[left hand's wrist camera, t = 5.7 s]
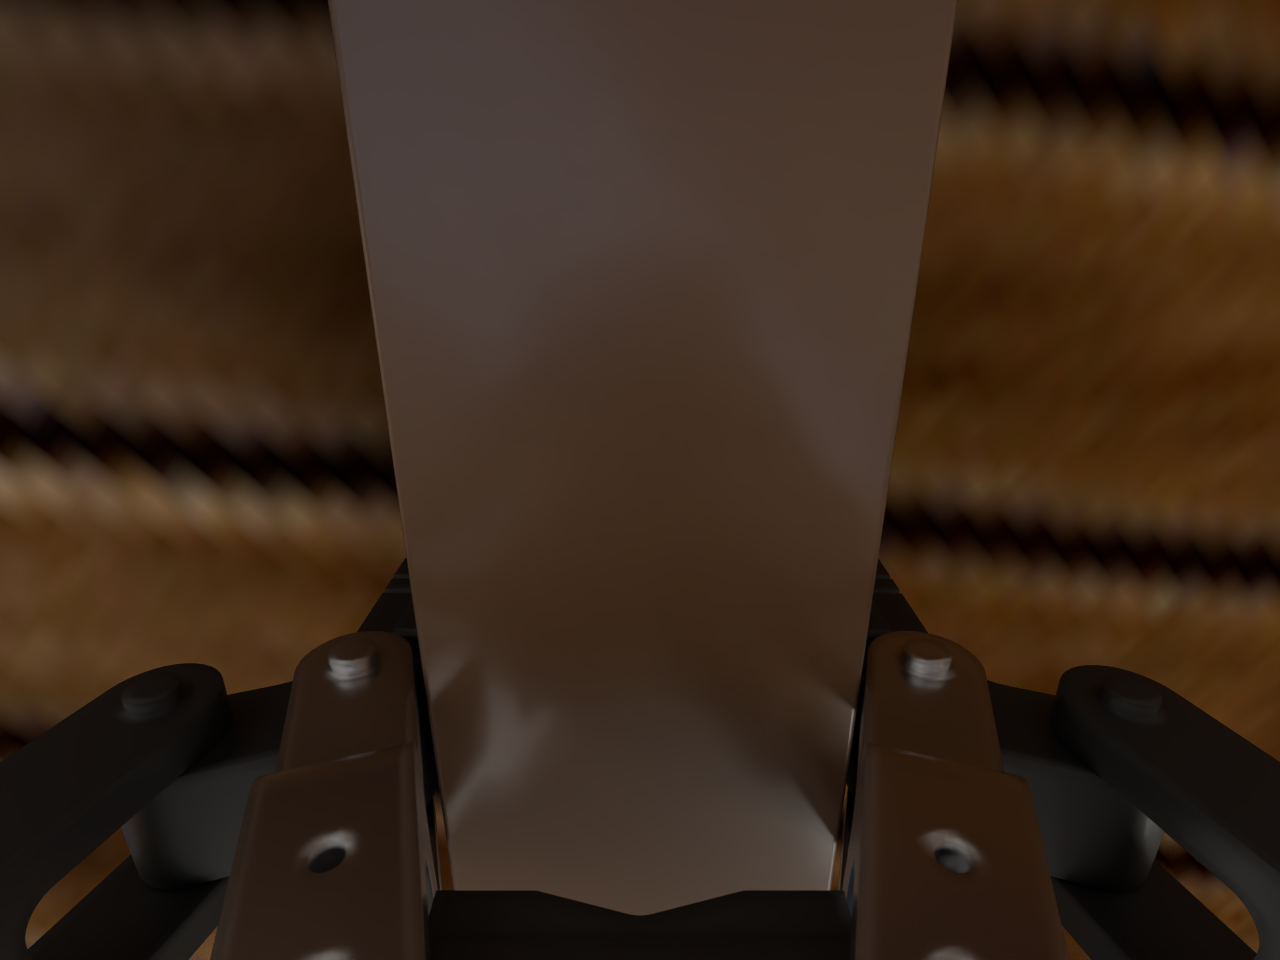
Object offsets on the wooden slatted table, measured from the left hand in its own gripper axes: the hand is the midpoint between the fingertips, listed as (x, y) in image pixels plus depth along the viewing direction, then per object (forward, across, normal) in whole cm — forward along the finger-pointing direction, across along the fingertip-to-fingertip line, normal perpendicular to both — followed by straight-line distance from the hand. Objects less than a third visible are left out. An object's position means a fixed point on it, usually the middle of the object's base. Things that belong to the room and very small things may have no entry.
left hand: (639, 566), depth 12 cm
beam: (+3, 0, -23) cm, 24 cm away
